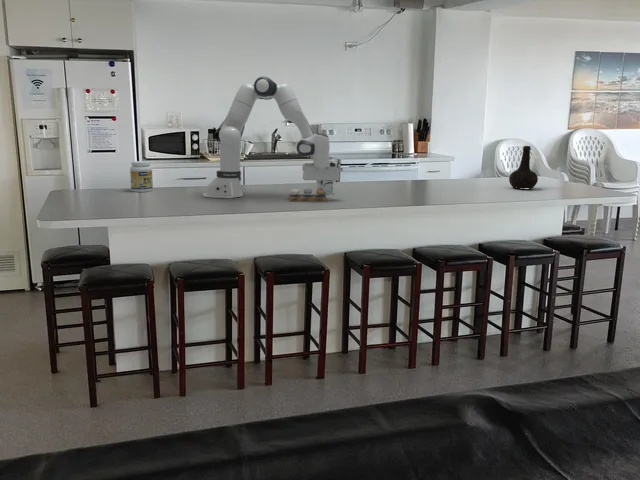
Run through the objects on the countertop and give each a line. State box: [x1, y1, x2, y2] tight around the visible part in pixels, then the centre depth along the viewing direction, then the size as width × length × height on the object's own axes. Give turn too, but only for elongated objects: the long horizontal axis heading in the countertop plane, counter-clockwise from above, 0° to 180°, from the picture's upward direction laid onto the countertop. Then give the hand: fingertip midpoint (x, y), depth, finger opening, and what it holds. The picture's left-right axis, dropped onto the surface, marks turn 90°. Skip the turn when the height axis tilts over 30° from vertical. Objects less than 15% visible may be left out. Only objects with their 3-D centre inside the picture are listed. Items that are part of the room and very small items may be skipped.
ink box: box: [316, 180, 334, 195], centre depth 355 cm, size 9×5×12 cm, turn 105°
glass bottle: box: [508, 145, 539, 189], centre depth 392 cm, size 18×18×28 cm
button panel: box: [288, 193, 328, 203], centre depth 333 cm, size 20×12×2 cm, turn 95°
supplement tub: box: [129, 160, 154, 193], centre depth 350 cm, size 12×12×17 cm
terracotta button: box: [315, 188, 325, 195], centre depth 333 cm, size 4×4×2 cm
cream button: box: [290, 188, 300, 194], centre depth 332 cm, size 4×4×2 cm
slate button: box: [303, 188, 313, 195], centre depth 332 cm, size 4×4×2 cm
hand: (320, 188), depth 333 cm, fingers closed
